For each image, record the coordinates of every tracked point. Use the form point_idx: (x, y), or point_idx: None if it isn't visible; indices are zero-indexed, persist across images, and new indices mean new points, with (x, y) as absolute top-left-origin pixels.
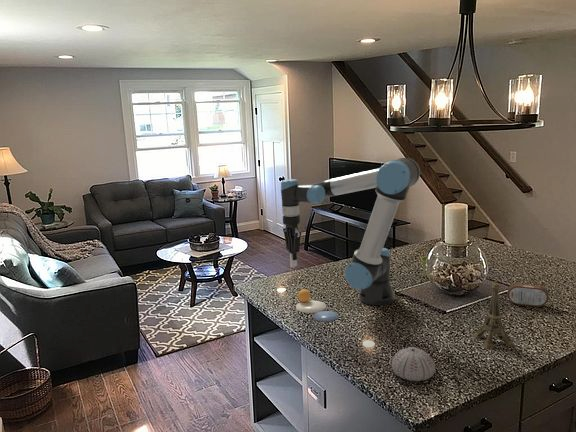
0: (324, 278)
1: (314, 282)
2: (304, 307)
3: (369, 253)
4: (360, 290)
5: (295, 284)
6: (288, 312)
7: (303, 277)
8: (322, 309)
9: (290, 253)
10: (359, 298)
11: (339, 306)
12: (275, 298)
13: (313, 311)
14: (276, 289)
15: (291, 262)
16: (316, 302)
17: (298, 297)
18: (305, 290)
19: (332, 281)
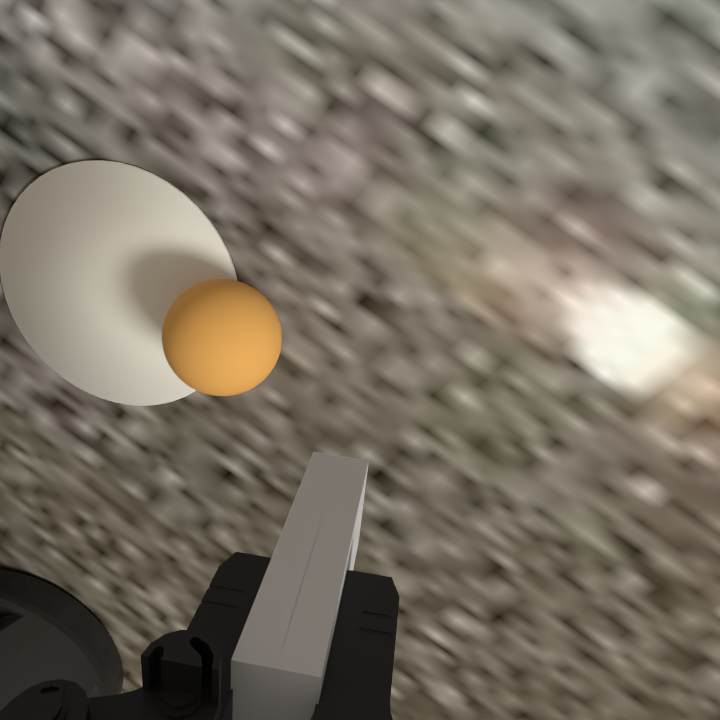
0: (539, 702)
1: (531, 615)
2: (123, 237)
3: None
4: (17, 644)
5: (625, 501)
6: (112, 62)
7: (700, 635)
8: (21, 318)
9: (194, 636)
10: (46, 591)
11: (24, 439)
12: (484, 162)
13: (16, 242)
14: (676, 310)
15: (295, 503)
16: (161, 371)
17: (235, 282)
18: (183, 361)
19: (444, 694)
